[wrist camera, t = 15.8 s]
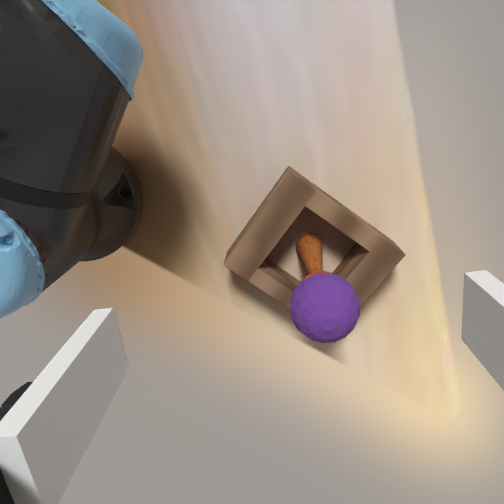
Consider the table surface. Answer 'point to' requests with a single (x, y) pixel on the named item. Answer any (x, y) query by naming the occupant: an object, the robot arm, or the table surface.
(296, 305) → the kendama
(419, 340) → the table surface
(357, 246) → the socket block
